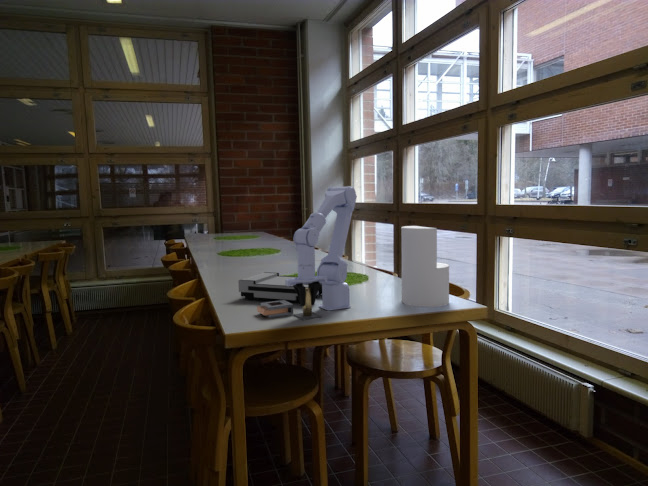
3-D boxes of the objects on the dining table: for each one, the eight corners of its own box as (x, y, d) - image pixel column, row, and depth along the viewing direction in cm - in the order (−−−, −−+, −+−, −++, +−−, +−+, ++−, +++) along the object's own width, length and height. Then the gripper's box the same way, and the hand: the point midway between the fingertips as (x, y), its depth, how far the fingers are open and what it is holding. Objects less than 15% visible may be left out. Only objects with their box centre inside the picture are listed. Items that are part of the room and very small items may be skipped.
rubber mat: (312, 312, 158) (312, 311, 158) (321, 317, 152) (321, 315, 152) (293, 315, 155) (293, 314, 155) (302, 320, 149) (302, 318, 149)
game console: (313, 306, 169) (312, 284, 168) (239, 300, 181) (238, 280, 180) (334, 295, 188) (333, 275, 187) (265, 290, 200) (265, 272, 199)
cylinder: (414, 308, 161) (414, 229, 159) (394, 298, 178) (393, 226, 175) (458, 304, 166) (458, 227, 163) (434, 295, 183) (434, 225, 180)
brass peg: (309, 313, 156) (308, 287, 155) (313, 315, 153) (312, 288, 152) (301, 314, 154) (300, 288, 154) (305, 316, 152) (304, 289, 151)
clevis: (284, 309, 163) (284, 299, 163) (293, 314, 156) (293, 304, 156) (256, 313, 159) (256, 303, 158) (264, 318, 152) (264, 308, 151)
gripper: (290, 268, 145) (292, 310, 147) (331, 264, 152) (332, 304, 153) (282, 265, 152) (283, 305, 153) (321, 261, 158) (322, 300, 159)
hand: (307, 305), depth 153 cm, fingers closed on brass peg, 3 cm apart
